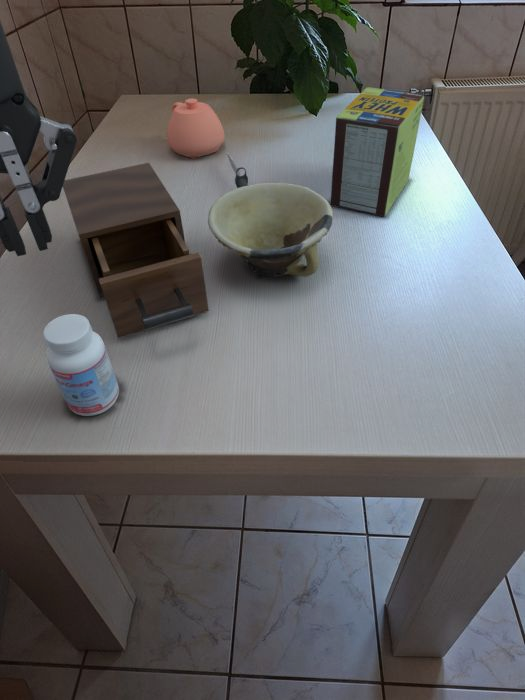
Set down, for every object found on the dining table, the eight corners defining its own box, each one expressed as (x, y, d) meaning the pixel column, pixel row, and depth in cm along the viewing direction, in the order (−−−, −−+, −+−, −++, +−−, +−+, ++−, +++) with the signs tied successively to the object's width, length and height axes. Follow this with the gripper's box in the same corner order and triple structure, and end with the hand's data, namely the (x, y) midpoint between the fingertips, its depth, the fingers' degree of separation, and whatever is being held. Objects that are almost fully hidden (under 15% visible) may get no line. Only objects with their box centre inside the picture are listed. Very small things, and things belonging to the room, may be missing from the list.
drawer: (222, 334, 65) (215, 280, 58) (127, 365, 61) (109, 310, 55) (176, 253, 78) (166, 201, 72) (96, 274, 75) (79, 221, 69)
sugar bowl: (189, 167, 102) (181, 115, 95) (154, 146, 110) (145, 97, 103) (236, 150, 107) (233, 100, 100) (200, 131, 115) (194, 83, 108)
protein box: (409, 180, 95) (425, 93, 84) (384, 218, 86) (399, 126, 75) (357, 170, 99) (366, 85, 88) (328, 205, 89) (334, 116, 78)
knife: (221, 163, 101) (220, 139, 97) (233, 162, 101) (231, 138, 98) (246, 214, 89) (245, 189, 85) (258, 212, 89) (258, 187, 85)
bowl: (191, 264, 78) (182, 208, 71) (278, 222, 86) (277, 169, 79) (264, 319, 68) (261, 261, 61) (354, 267, 76) (360, 210, 69)
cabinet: (190, 273, 76) (179, 210, 68) (100, 298, 72) (78, 234, 65) (160, 222, 87) (149, 162, 79) (81, 241, 83) (60, 180, 76)
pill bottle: (58, 413, 58) (23, 344, 50) (84, 375, 62) (54, 305, 54) (106, 422, 56) (77, 353, 48) (129, 382, 61) (105, 313, 53)
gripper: (39, -2, 36) (100, 212, 49) (-175, 21, 33) (-50, 246, 45) (52, 18, 31) (116, 251, 44) (-198, 48, 28) (-51, 293, 40)
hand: (31, 248), depth 44 cm, fingers closed
